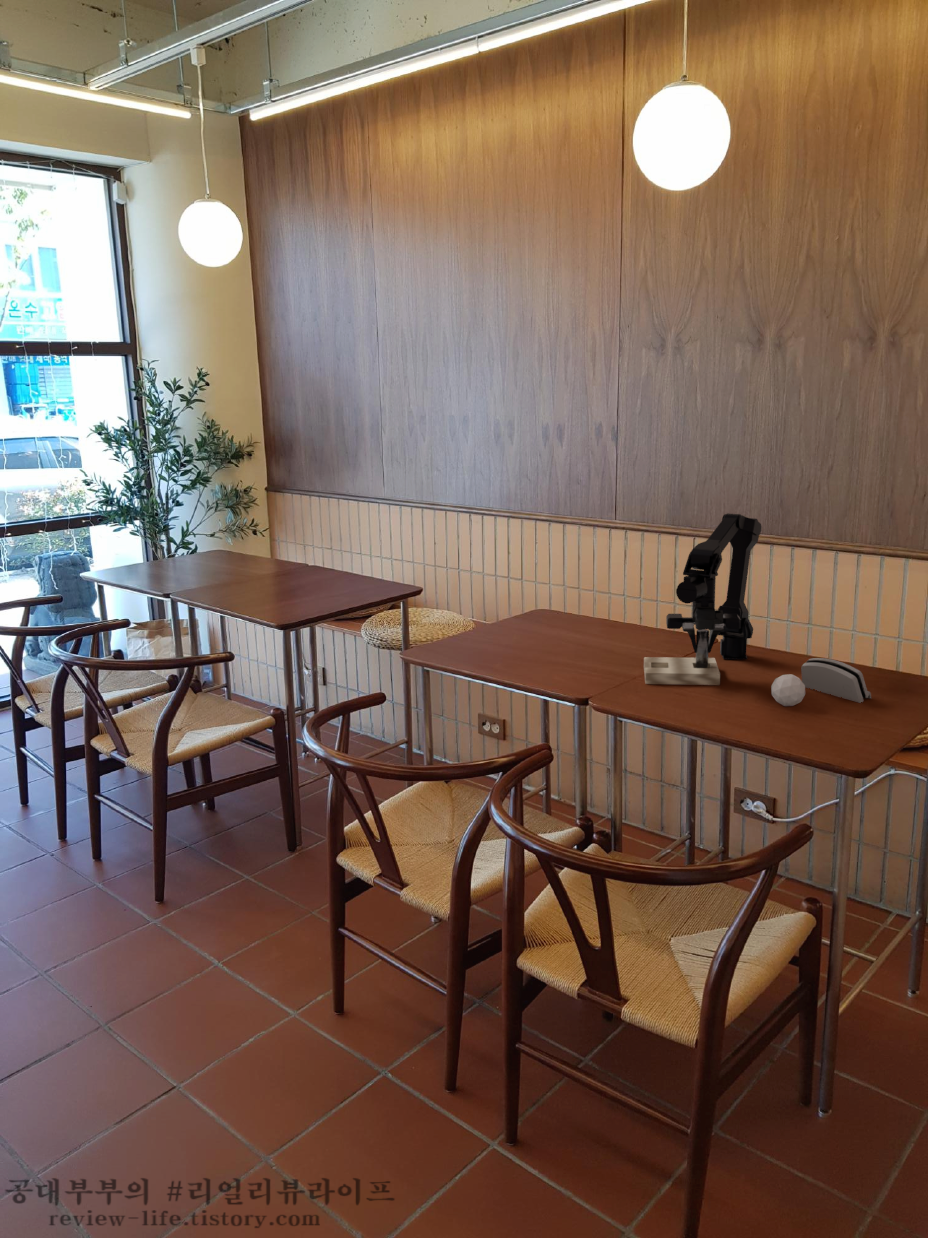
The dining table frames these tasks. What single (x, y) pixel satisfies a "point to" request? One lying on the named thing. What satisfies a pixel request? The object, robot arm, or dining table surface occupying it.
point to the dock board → (680, 671)
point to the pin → (702, 648)
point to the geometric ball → (788, 690)
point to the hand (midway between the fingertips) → (702, 652)
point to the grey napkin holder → (834, 679)
